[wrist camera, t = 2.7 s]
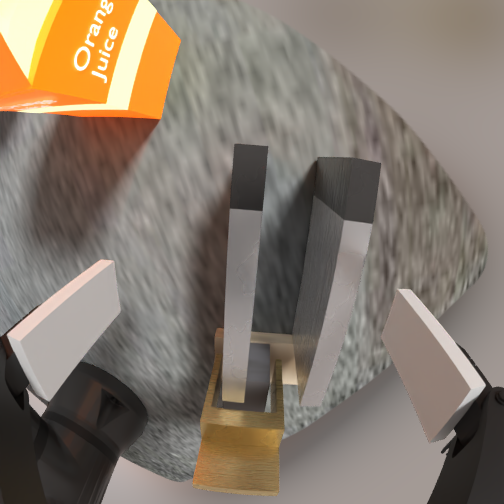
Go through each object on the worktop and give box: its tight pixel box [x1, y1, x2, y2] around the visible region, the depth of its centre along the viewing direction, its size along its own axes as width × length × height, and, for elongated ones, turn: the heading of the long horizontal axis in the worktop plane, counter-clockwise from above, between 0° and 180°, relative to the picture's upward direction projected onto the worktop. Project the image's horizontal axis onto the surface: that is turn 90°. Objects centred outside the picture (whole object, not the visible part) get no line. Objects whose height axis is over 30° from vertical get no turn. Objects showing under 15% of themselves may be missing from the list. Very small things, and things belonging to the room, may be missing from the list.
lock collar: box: [192, 353, 284, 496], centre depth 18 cm, size 4×6×12 cm, turn 86°
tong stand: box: [215, 328, 298, 412], centre depth 24 cm, size 6×10×6 cm, turn 85°
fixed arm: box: [222, 144, 268, 403], centre depth 19 cm, size 16×2×9 cm, turn 175°
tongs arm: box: [292, 157, 381, 406], centre depth 19 cm, size 16×2×9 cm, turn 175°
